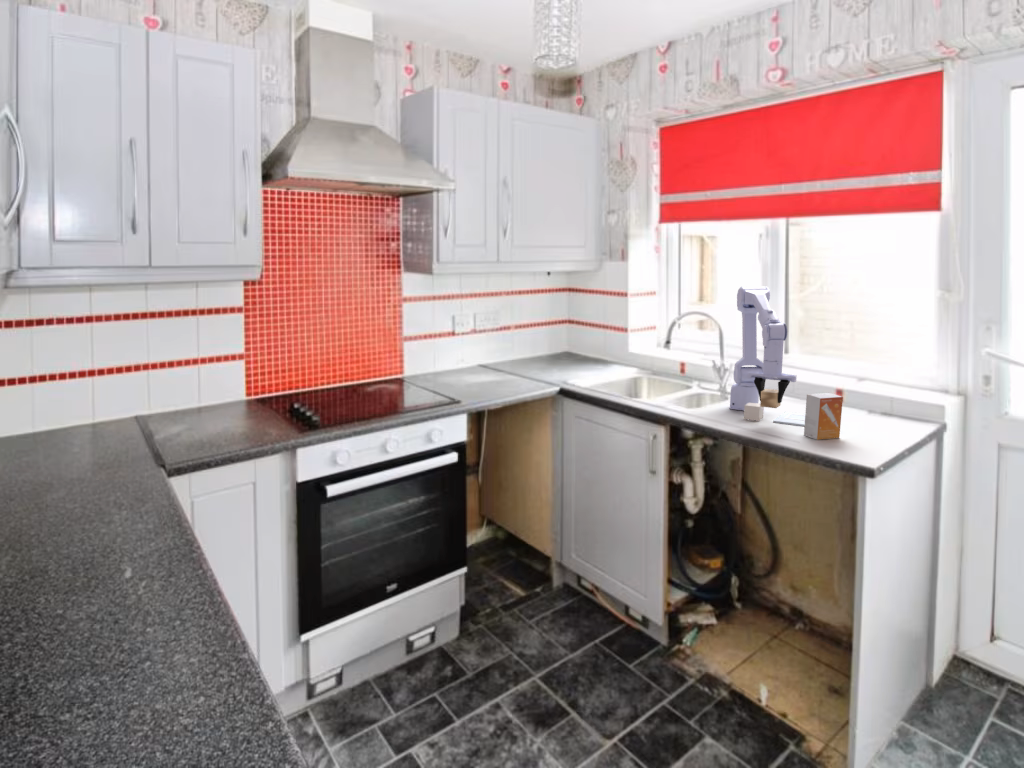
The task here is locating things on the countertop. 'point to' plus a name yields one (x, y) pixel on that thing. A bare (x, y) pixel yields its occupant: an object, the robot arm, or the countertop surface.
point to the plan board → (791, 419)
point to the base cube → (769, 398)
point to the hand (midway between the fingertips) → (770, 401)
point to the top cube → (753, 411)
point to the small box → (823, 416)
